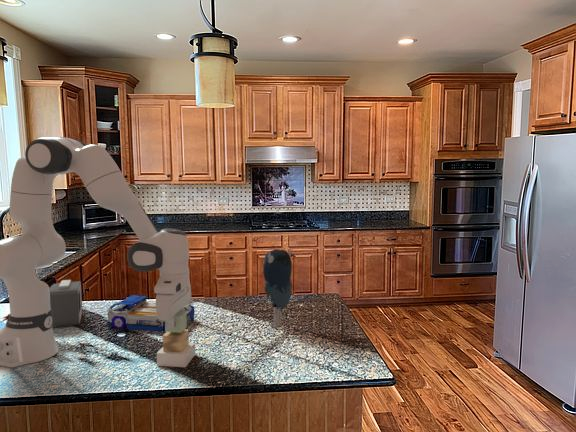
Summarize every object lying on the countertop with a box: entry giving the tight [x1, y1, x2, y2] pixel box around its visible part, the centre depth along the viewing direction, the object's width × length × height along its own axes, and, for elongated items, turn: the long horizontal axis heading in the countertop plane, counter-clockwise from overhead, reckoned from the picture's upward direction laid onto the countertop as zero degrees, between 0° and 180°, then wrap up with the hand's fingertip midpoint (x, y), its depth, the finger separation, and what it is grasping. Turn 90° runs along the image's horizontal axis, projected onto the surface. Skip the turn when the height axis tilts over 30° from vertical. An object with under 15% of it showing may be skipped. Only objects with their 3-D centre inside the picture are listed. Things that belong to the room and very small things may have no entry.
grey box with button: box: [49, 279, 83, 328], centre depth 168 cm, size 16×11×16 cm
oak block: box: [162, 328, 190, 352], centre depth 134 cm, size 6×6×5 cm
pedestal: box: [156, 342, 196, 368], centre depth 135 cm, size 9×9×4 cm
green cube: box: [164, 311, 188, 333], centre depth 134 cm, size 5×5×5 cm
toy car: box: [107, 294, 195, 333], centre depth 167 cm, size 16×30×10 cm, turn 80°
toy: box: [262, 248, 293, 329], centre depth 163 cm, size 14×11×30 cm
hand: (175, 324), depth 134 cm, fingers closed on green cube, 5 cm apart
